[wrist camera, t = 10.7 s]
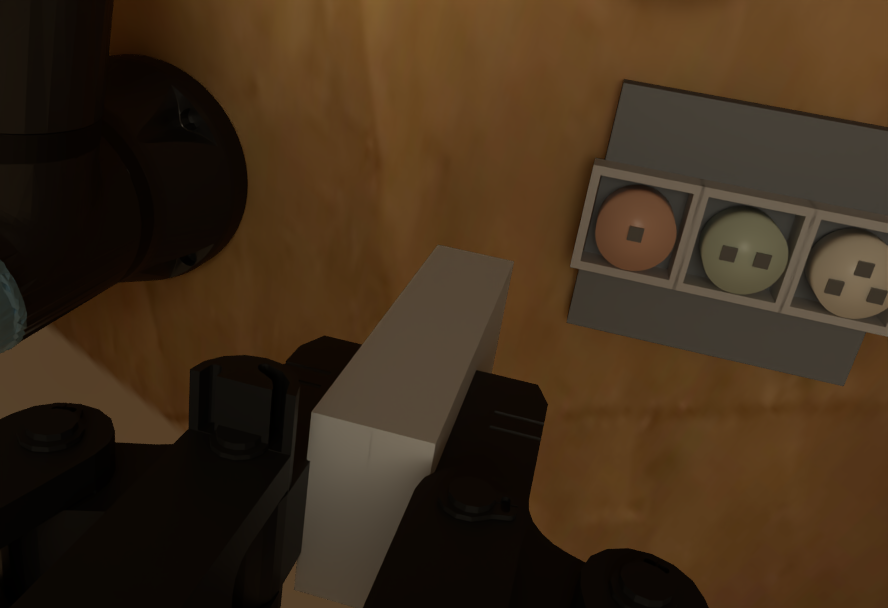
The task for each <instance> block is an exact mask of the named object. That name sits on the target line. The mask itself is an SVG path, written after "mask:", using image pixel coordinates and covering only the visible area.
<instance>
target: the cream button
mask: <svg viewBox="0 0 888 608" xmlns="http://www.w3.org/2000/svg"><path fill="white" fill-rule="evenodd" d="M805 273H806V278H807V281H808V283H809V285H810V286H811V288H812V290H813V291H814V293H815V295H816V296H817V298H818V300H819V301H820V303H821V304H822V305H823V306H824V307H825V308H826V309H827V310H828V311H830V312H831V313H833V314H835V315H837V316H840V317H844V318H850V319H861V318H867V317H870V316H874V315H876V314H879V313H880V312H882V311H884V310H885V309H887V308H888V246H887V245H886V244H885V243H884V242H883V241H882V240H881V239H880V238H879V237H878V236H877V235H875V234H873V233H871V232H869V231H866V230H863V229H856V228H849V229H842V230H838V231H835V232H832V233H830V234H828V235H826V236H825V237H823V238H822V239H821V240H819V241H818V242H817V243H816V244H815V245H814V247H813V248H812V249H811V251H810V253H809V255H808V258H807V260H806V265H805Z"/></svg>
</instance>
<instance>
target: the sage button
mask: <svg viewBox="0 0 888 608" xmlns="http://www.w3.org/2000/svg"><path fill="white" fill-rule="evenodd" d="M699 250H700V254H701V258H702V262H703V266H704V269H705V272H706V274H707V276H708V277H709V279H710V280H711V281H712V282H713V283H714V284H715V285H716V286H717V287H719V288H721V289H722V290H724V291H727V292H730V293H734V294H752V293H756V292H759V291H762V290H764V289H766V288H768V287H769V286H771V285H772V284H773V283H775V282H776V281H777V280H778V279H779V277H780V276H781V275H782V273H783V271H784V270H785V267H786V265H787V261H788V247H787V243H786V240H785V238H784V236H783V235H782V233H781V231H780V230H779V228H778V227H777V225H776V223H775V222H774V221H773V219H772V218H771V217H770V216H769V215H767V214H766V213H765V212H763V211H761V210H759V209H757V208H753V207H748V206H737V207H731V208H728V209H725V210H723V211H721V212H719V213H718V214H716V215H715V216H713V217H712V218H711V219H710V220H709V221H708V222H707V224H706V225H705V227H704V229H703V230H702V233H701V236H700V241H699Z"/></svg>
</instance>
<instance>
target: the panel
mask: <svg viewBox="0 0 888 608" xmlns="http://www.w3.org/2000/svg"><path fill="white" fill-rule="evenodd" d="M600 175H601V178H600ZM599 180H600V182H599ZM598 184H599V187H598ZM629 185H645V186H648V187H651V188H654V189H656V190H657V191H659V192H660V193H661V194H663V195H664V196H665V197H666V199H667V200H668V201H669V203H670V205H671V207H672V210H673V213H674V218H675V224H676V240H675V244H674V246H673V249H672V250H671V252H670V253H669V255H668V256H667V257H666V258H665V259H664V260H663V261H662V262H661V263H659V264H658V265H656V266H654V267H652V268H649V269H646V270H642V271H629V270H624V269H620V268H618V267H616V266H614V265H612V264H611V263H610V262H608V261H607V260H606V259H605V258H604V257H603V255H602V254H601V252H600V251H599V249H598V246H597V243H596V237H595V230H596V223H597V217H598V212H599V209H600V207H601V205H602V203H603V202H604V200H605V199H606V198H607V197H608V196H609V195H610V194H611V193H613V192H614V191H616V190H618V189H619V188H622V187H625V186H629ZM597 188H598V191H597ZM596 192H597V195H596ZM595 196H596V199H595ZM594 201H595V203H594ZM593 205H594V208H593ZM737 206H748V207H753V208H757V209H759V210H761V211H763V212H765V213H766V214H767V215H769V216H770V217H771V218H772V219H773V221H774V222H775V223H776V225H777V227H778V228H779V230H780V231H781V233H782V235H783V236H784V238H785V240H786V243H787V247H788V261H787V265H786V267H785V270H784V271H783V273H782V275H781V276H780V277H779V279H778V280H777V281H776V282H775V283H773V284H772V285H771V286H769V287H768V288H766V289H764V290H762V291H759V292H756V293H752V294H734V293H730V292H727V291H724V290H722V289H721V288H719V287H717V286H716V285H715V284H714V283H713V282H712V281H711V280H710V279H709V277H708V276H707V274H706V272H705V269H704V266H703V262H702V258H701V254H700V250H699V241H700V236H701V233H702V230H703V229H704V227H705V225H706V224H707V222H708V221H709V220H710V219H711V218H712V217H713V216H715V215H716V214H718V213H719V212H721V211H723V210H725V209H728V208H731V207H737ZM592 209H593V212H592ZM591 213H592V216H591ZM590 218H591V220H590ZM589 222H590V224H589ZM588 226H589V229H588ZM849 228H856V229H863V230H866V231H869V232H871V233H873V234H875V235H877V236H878V237H879V238H880V239H881V240H882V241H883V242H884V243H885V244H886V245H887V246H888V127H883V126H878V125H872V124H867V123H861V122H856V121H850V120H845V119H839V118H834V117H828V116H823V115H817V114H812V113H807V112H801V111H796V110H790V109H785V108H779V107H774V106H768V105H763V104H757V103H752V102H746V101H741V100H735V99H730V98H725V97H719V96H714V95H708V94H703V93H697V92H692V91H686V90H681V89H675V88H670V87H664V86H659V85H653V84H648V83H642V82H637V81H632V80H626V79H624V82H623V86H622V90H621V94H620V98H619V103H618V107H617V111H616V115H615V119H614V124H613V128H612V132H611V136H610V140H609V145H608V149H607V153H606V157H605V160H604V159H599V158H595V161H594V165H593V170H592V174H591V178H590V182H589V187H588V191H587V195H586V200H585V204H584V208H583V212H582V217H581V221H580V225H579V230H578V234H577V238H576V243H575V247H574V251H573V255H572V260H571V264H570V267H572V268H577V269H579V271H578V275H577V279H576V283H575V287H574V292H573V296H572V300H571V304H570V308H569V313H568V318H567V323H570V324H575V325H579V326H583V327H588V328H592V329H596V330H601V331H605V332H609V333H614V334H618V335H622V336H627V337H631V338H636V339H640V340H644V341H649V342H653V343H657V344H662V345H666V346H670V347H675V348H679V349H684V350H688V351H692V352H697V353H701V354H705V355H710V356H714V357H718V358H723V359H727V360H731V361H736V362H740V363H745V364H749V365H753V366H758V367H762V368H766V369H771V370H775V371H779V372H784V373H788V374H792V375H797V376H801V377H806V378H810V379H814V380H819V381H823V382H827V383H832V384H836V385H840V386H844V384H845V382H846V379H847V377H848V374H849V372H850V370H851V367H852V365H853V362H854V360H855V357H856V355H857V353H858V350H859V348H860V345H861V343H862V340H863V338H864V336H865V333H866V332H869V333H874V334H878V335H883V336H887V337H888V308H887V309H885V310H884V311H882V312H880V313H879V314H876V315H874V316H870V317H867V318H861V319H850V318H844V317H840V316H837V315H835V314H833V313H831V312H830V311H828V310H827V309H826V308H825V307H824V306H823V305H822V304H821V303H820V301H819V300H818V298H817V296H816V295H815V293H814V291H813V290H812V288H811V286H810V285H809V283H808V281H807V278H806V273H805V265H806V260H807V258H808V255H809V253H810V251H811V249H812V248H813V247H814V245H815V244H816V243H817V242H818V241H819V240H821V239H822V238H823V237H825V236H826V235H828V234H830V233H832V232H835V231H838V230H842V229H849ZM587 230H588V233H587ZM586 234H587V237H586ZM585 239H586V241H585ZM584 243H585V245H584ZM583 247H584V250H583Z"/></svg>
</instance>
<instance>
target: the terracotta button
mask: <svg viewBox="0 0 888 608" xmlns="http://www.w3.org/2000/svg"><path fill="white" fill-rule="evenodd" d="M595 237H596V243H597V246H598V249H599V251H600V252H601V254H602V255H603V257H604V258H605V259H606V260H607V261H608V262H610V263H611V264H612V265H614V266H616V267H618V268H620V269H624V270H629V271H642V270H646V269H649V268H652V267H654V266H656V265H658V264H659V263H661V262H662V261H663V260H664V259H665V258H666V257H667V256H668V255H669V253H670V252H671V250H672V249H673V246H674V244H675V240H676V224H675V218H674V213H673V210H672V207H671V205H670V203H669V201H668V200H667V199H666V197H665V196H664V195H663V194H661V193H660V192H659V191H657V190H656V189H654V188H651V187H648V186H645V185H629V186H625V187H622V188H619V189H618V190H616V191H614V192H613V193H611V194H610V195H609V196H608V197H607V198H606V199H605V200H604V202H603V203H602V205H601V207H600V209H599V212H598V217H597V223H596V230H595Z"/></svg>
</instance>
